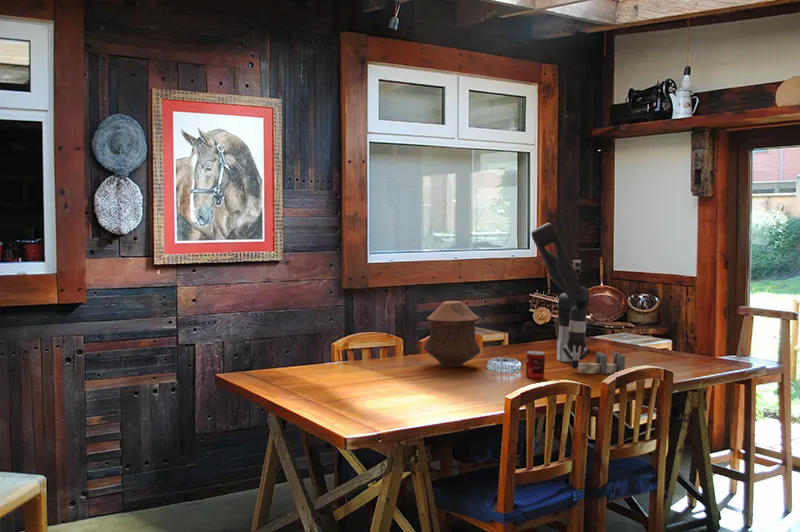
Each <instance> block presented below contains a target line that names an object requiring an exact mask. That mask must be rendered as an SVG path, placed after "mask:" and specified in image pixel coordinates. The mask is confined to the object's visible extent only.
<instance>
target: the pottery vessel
mask: <svg viewBox="0 0 800 532" xmlns="http://www.w3.org/2000/svg"><path fill="white" fill-rule="evenodd" d="M426 319H427V321H429V336H428V338H427V339H426V341H425V343H424V345H423V350H424V352H426V353H428V354H429V355H430V356H431V357H432V358H433V359H435V360H436V361H438V362H439V364H440V365H441V366H442V367H446V368H460V367H462V366H463V365H464V364H465V363H467V362H469V361H470V360H473V358H475V357H477V356H478V355H479V354H480V353H481V347H480V345H479V342H478V340H477V338H476V337H477V336H476V320H479V319H480V317H479V316H478V315H477V314H476V313H474V312H473V311H472V310H471V309H470V308H469V307H468V306H467V305H466V304H465V303H463V302H462V301H460V300H447V301H446V300H445V301H443V302H442V303H441V305H439V306H438V307H437V308H436V309H435V310H434V311H433V312H431V314H429V315H428V316H427V317H426Z"/></svg>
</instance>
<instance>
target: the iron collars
mask: <svg viewBox="0 0 800 532" xmlns="http://www.w3.org/2000/svg"><path fill="white" fill-rule="evenodd" d="M594 363H600V374H599V375H601V374H607V364H608V355H607V354H605V353H603V352H599V351H598V352H597V351H596V352H595V362H594ZM612 364H618V370H617V372H618V371H621V370H624V369H625V370H626V365H625V364H626V356H625V355H624V354H622V353H620V352H612ZM607 375H608V374H607Z"/></svg>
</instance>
